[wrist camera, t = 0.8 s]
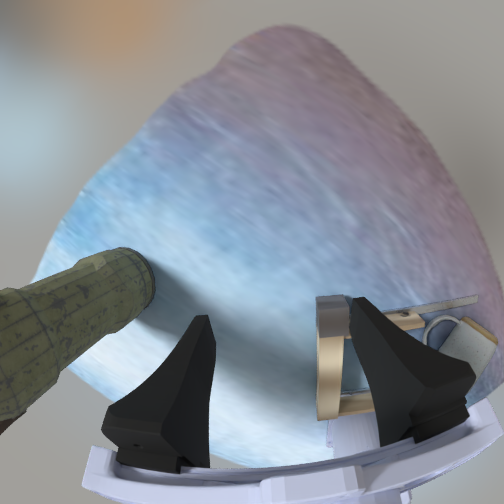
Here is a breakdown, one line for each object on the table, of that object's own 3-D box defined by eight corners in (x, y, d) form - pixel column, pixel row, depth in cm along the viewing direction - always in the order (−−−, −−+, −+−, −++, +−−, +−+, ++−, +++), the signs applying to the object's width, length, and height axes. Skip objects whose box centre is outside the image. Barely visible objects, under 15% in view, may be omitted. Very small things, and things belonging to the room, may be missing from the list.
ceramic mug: (482, 324, 27) (510, 348, 20) (451, 371, 29) (473, 400, 22) (440, 297, 28) (471, 320, 20) (405, 350, 30) (426, 384, 22)
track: (459, 371, 29) (460, 372, 29) (315, 399, 32) (315, 401, 32) (476, 294, 27) (478, 295, 26) (315, 317, 30) (316, 319, 30)
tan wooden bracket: (400, 389, 30) (408, 406, 26) (316, 401, 32) (317, 420, 28) (415, 285, 27) (429, 296, 23) (315, 296, 29) (318, 310, 25)
